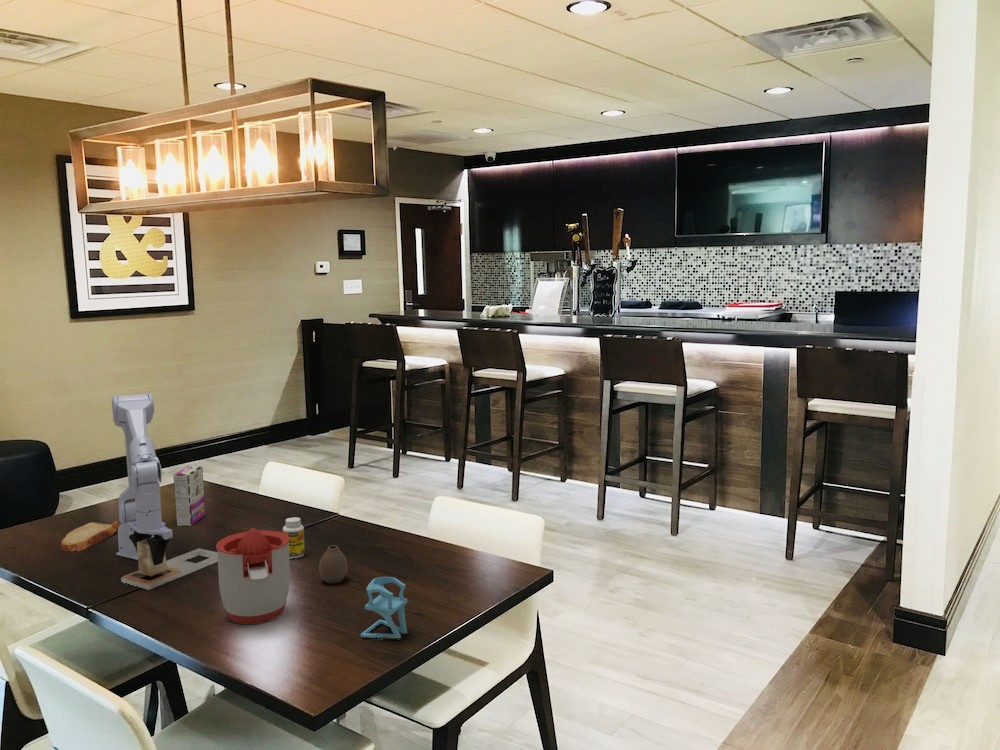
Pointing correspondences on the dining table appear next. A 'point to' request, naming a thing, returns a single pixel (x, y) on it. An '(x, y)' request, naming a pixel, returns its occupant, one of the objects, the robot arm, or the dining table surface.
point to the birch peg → (148, 560)
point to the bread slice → (88, 536)
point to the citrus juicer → (254, 575)
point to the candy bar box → (189, 495)
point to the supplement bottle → (295, 537)
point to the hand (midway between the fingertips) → (151, 562)
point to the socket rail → (173, 569)
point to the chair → (386, 607)
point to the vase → (333, 565)
